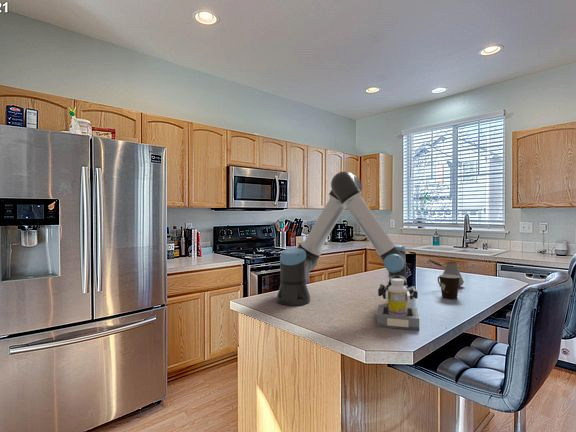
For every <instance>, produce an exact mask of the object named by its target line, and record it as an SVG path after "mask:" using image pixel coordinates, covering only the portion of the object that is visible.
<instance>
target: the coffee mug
mask: <svg viewBox="0 0 576 432" xmlns="http://www.w3.org/2000/svg"><path fill="white" fill-rule="evenodd" d="M459 279H460V277H459V276H456V275H443V274H439V276H438V277H437V283H438V285H439V286H440V291H441V297H442V299H445V298H446V299H447V300H457V299H458V294H459V288H460V287H459Z"/></svg>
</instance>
